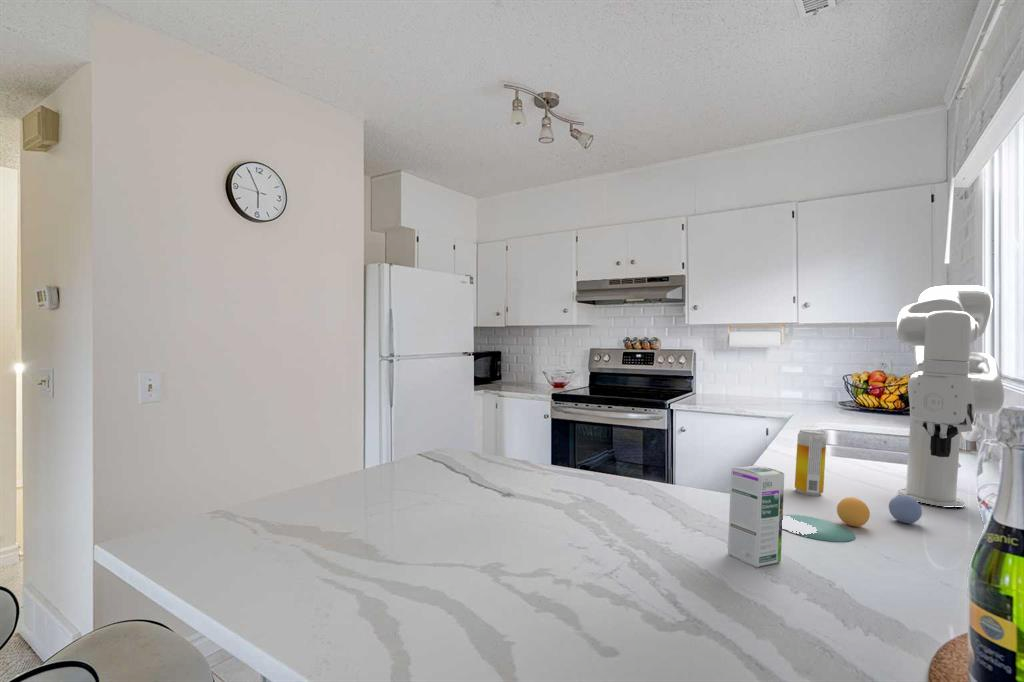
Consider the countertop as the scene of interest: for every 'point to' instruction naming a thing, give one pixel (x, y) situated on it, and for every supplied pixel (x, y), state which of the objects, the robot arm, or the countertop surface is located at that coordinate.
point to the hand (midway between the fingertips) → (939, 455)
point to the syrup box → (756, 515)
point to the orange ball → (853, 511)
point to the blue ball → (905, 509)
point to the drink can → (810, 462)
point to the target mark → (826, 529)
